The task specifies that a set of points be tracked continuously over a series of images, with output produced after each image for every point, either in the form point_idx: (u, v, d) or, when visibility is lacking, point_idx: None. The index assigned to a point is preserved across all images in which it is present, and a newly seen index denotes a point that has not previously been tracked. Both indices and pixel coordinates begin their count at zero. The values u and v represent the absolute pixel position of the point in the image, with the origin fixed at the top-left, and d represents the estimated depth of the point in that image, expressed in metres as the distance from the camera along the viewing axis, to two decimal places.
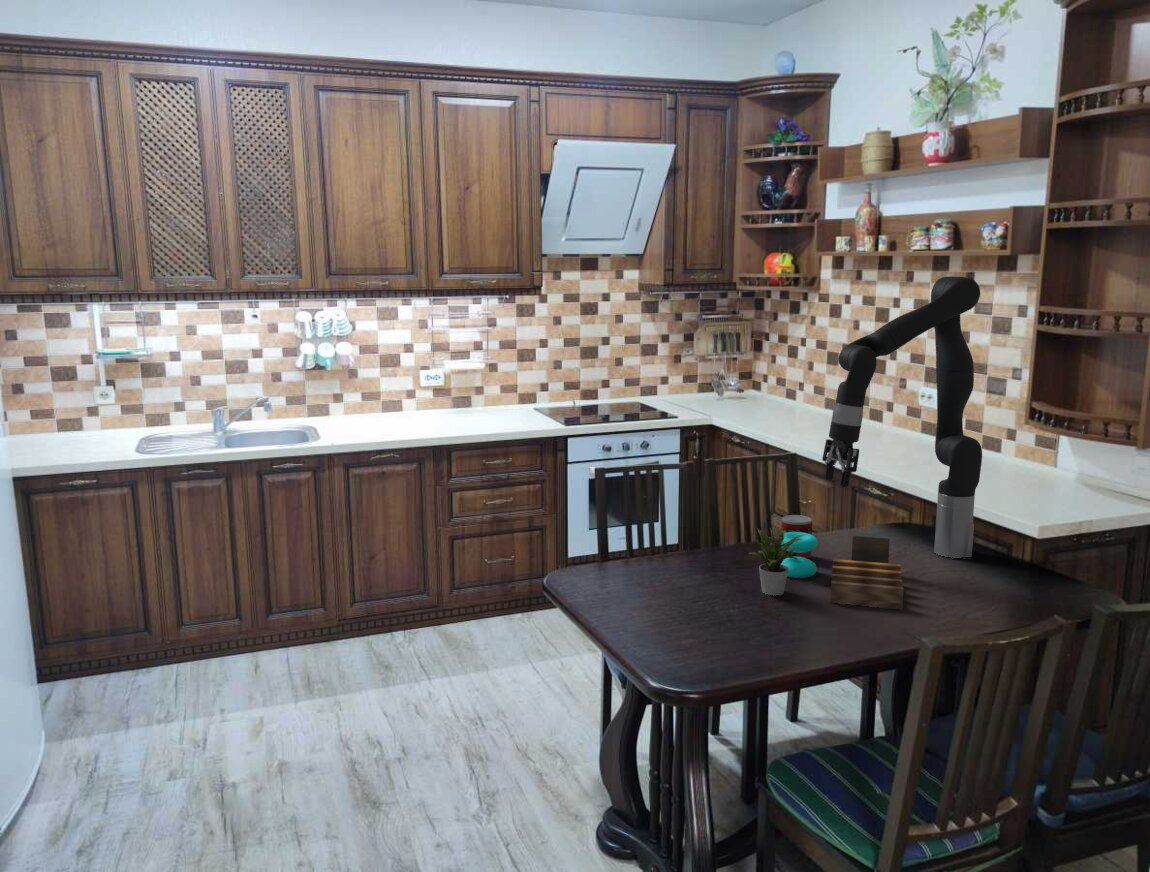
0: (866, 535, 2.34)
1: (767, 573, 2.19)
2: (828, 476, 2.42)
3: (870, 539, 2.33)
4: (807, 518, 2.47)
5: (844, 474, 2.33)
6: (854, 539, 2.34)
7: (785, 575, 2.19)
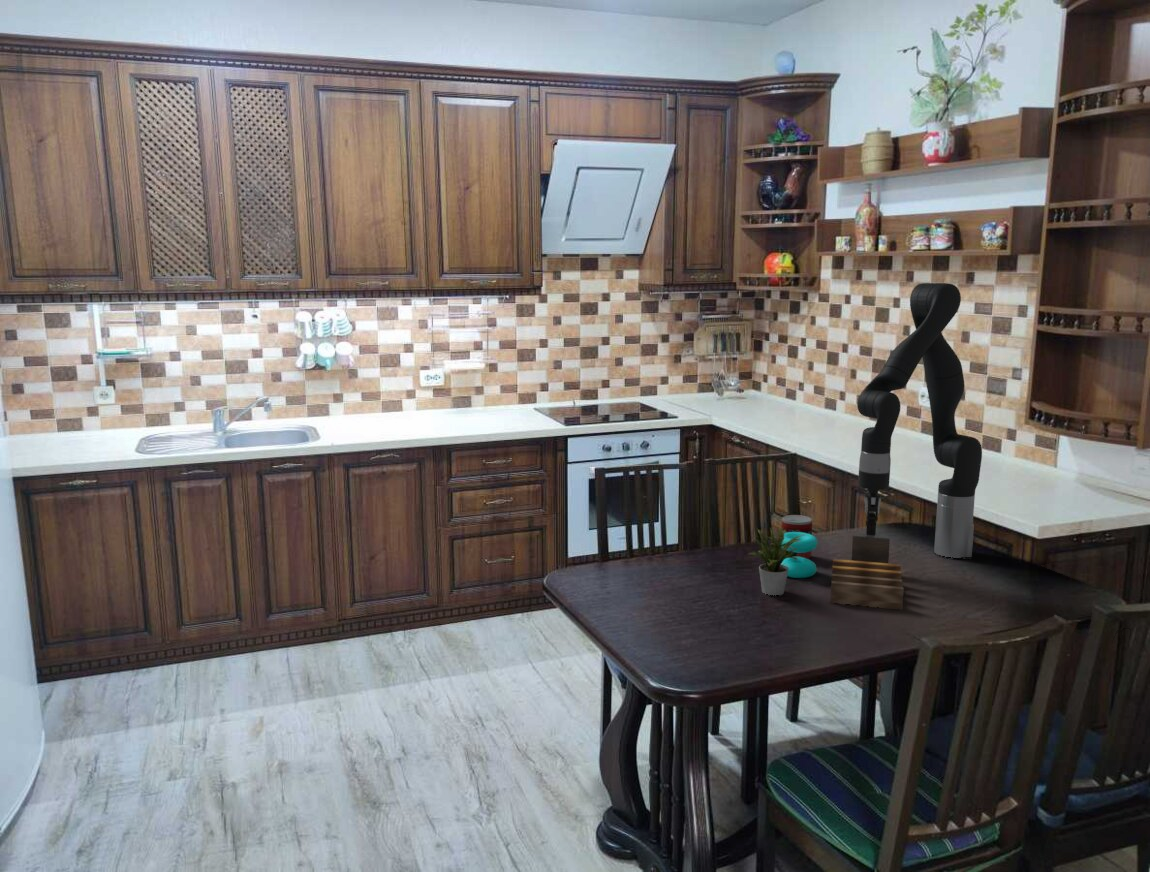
0: (866, 535, 2.34)
1: (767, 573, 2.19)
2: None
3: (870, 539, 2.33)
4: (807, 518, 2.47)
5: (868, 523, 2.28)
6: (854, 539, 2.34)
7: (785, 575, 2.19)
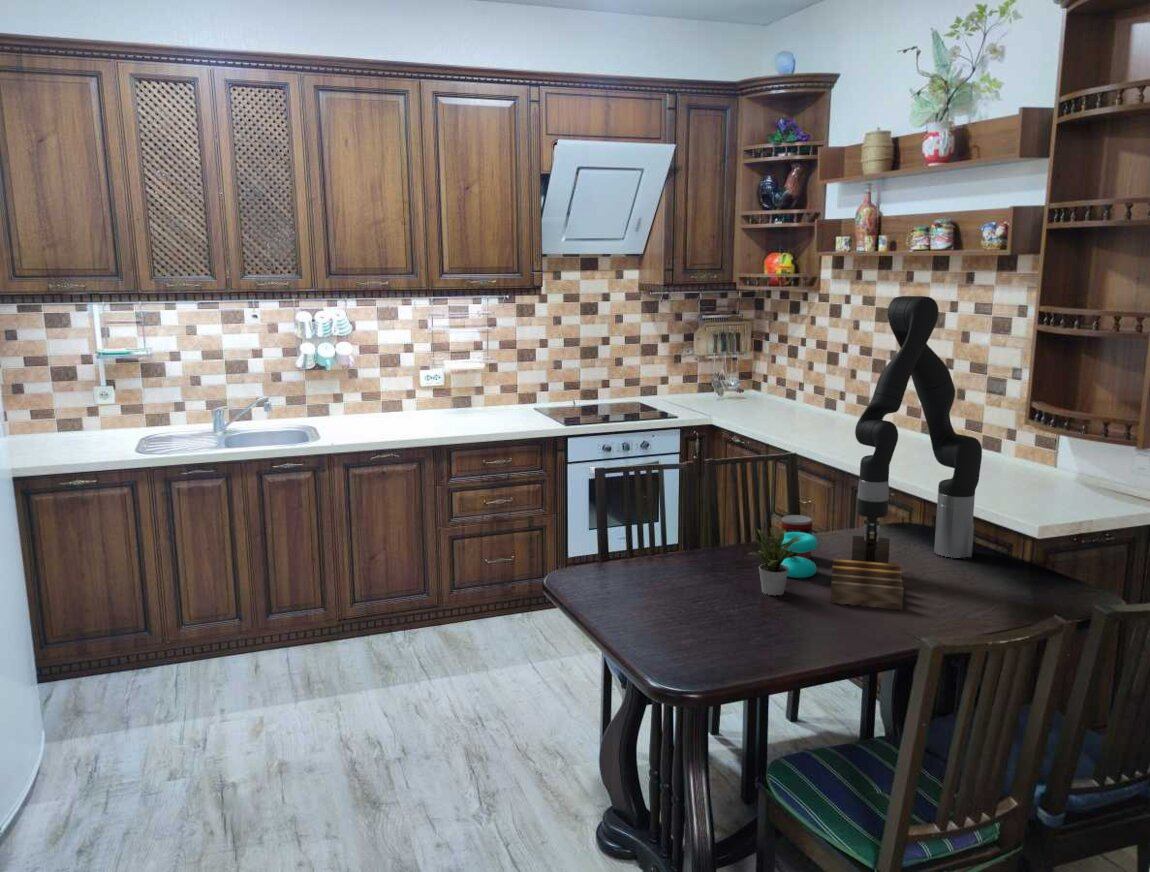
0: (866, 535, 2.34)
1: (767, 573, 2.19)
2: None
3: None
4: (807, 518, 2.47)
5: (867, 551, 2.32)
6: (854, 539, 2.34)
7: (785, 575, 2.19)
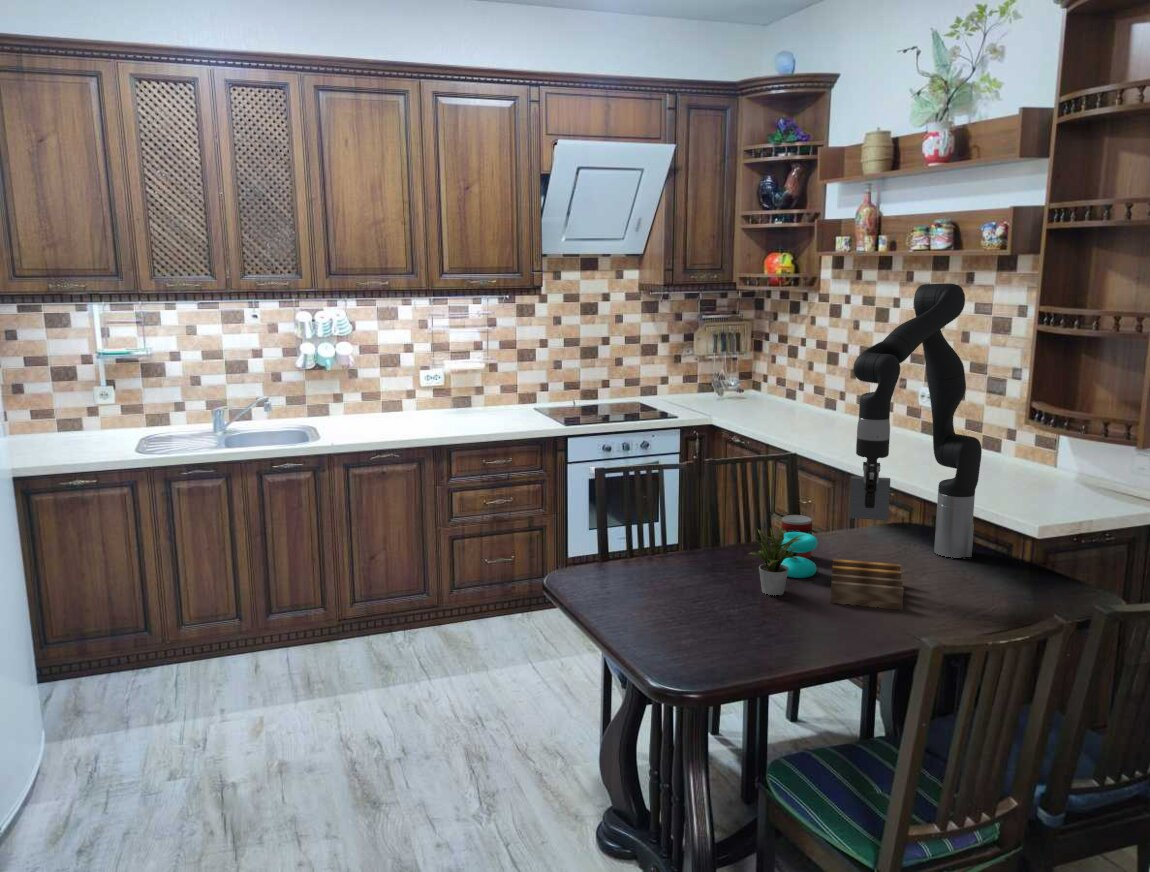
0: None
1: (767, 573, 2.19)
2: None
3: None
4: (807, 518, 2.47)
5: (867, 495, 2.19)
6: (853, 481, 2.21)
7: (785, 575, 2.19)
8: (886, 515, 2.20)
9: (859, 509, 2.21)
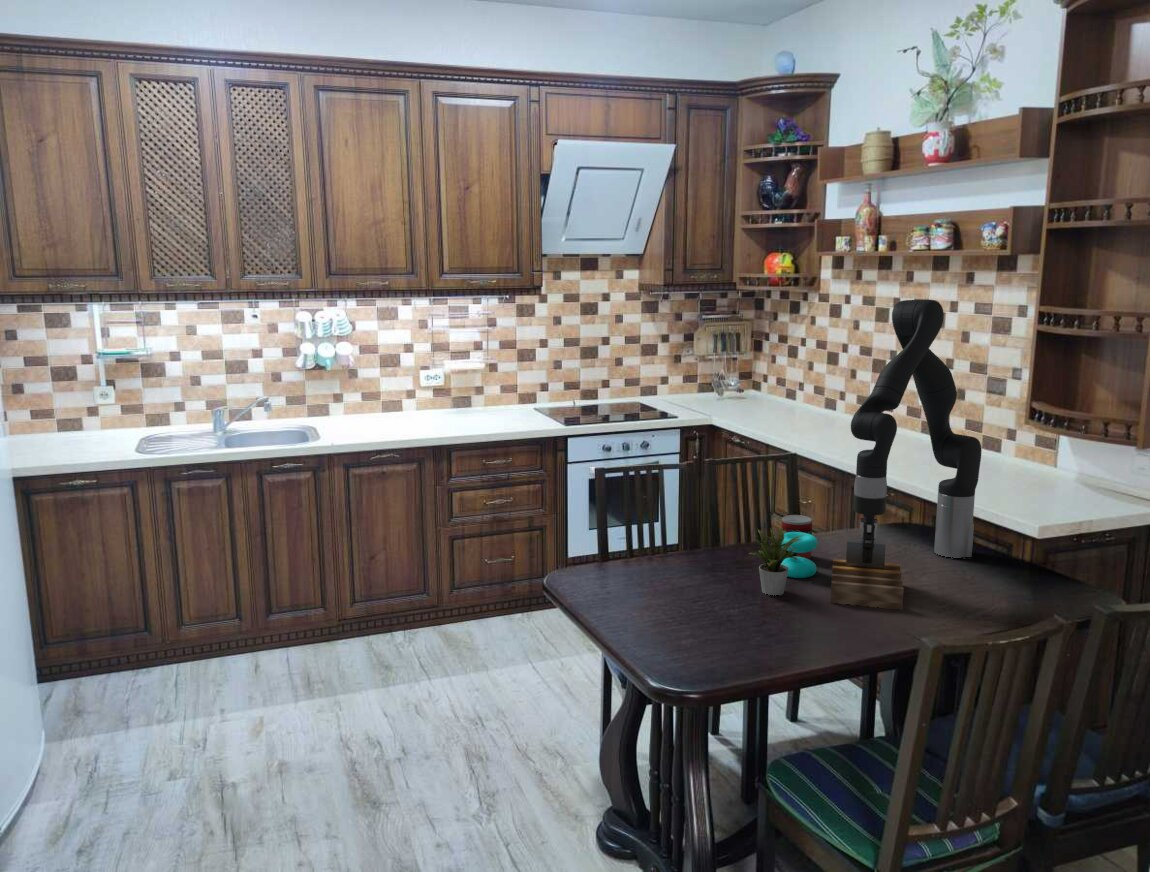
0: (861, 541, 2.24)
1: (767, 573, 2.19)
2: None
3: None
4: (807, 518, 2.47)
5: (864, 550, 2.20)
6: (848, 545, 2.24)
7: (785, 575, 2.19)
8: None
9: None
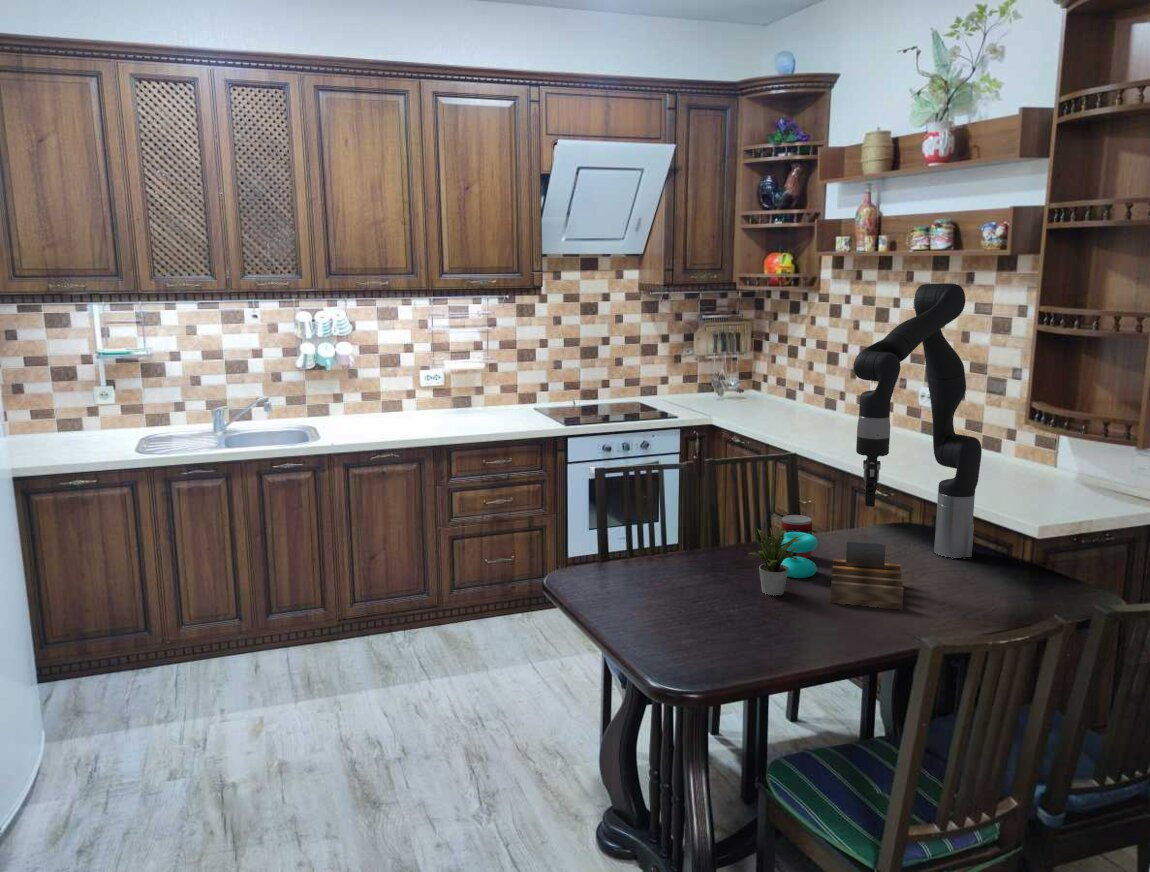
0: (861, 541, 2.24)
1: (767, 573, 2.19)
2: None
3: (865, 545, 2.23)
4: (807, 518, 2.47)
5: (867, 493, 2.19)
6: (848, 545, 2.24)
7: (785, 575, 2.19)
8: None
9: None
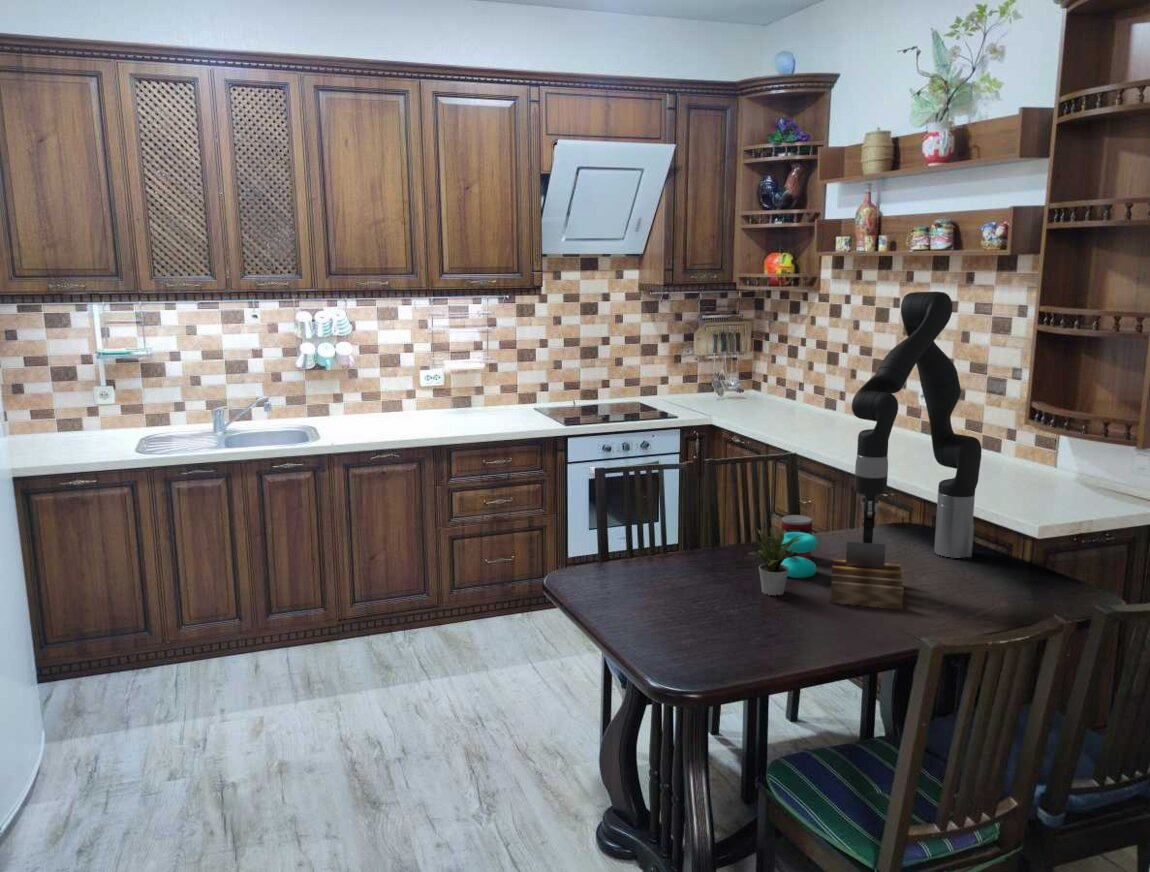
0: (861, 541, 2.24)
1: (767, 573, 2.19)
2: None
3: (865, 545, 2.23)
4: (807, 518, 2.47)
5: (865, 530, 2.22)
6: (848, 545, 2.24)
7: (785, 575, 2.19)
8: None
9: None
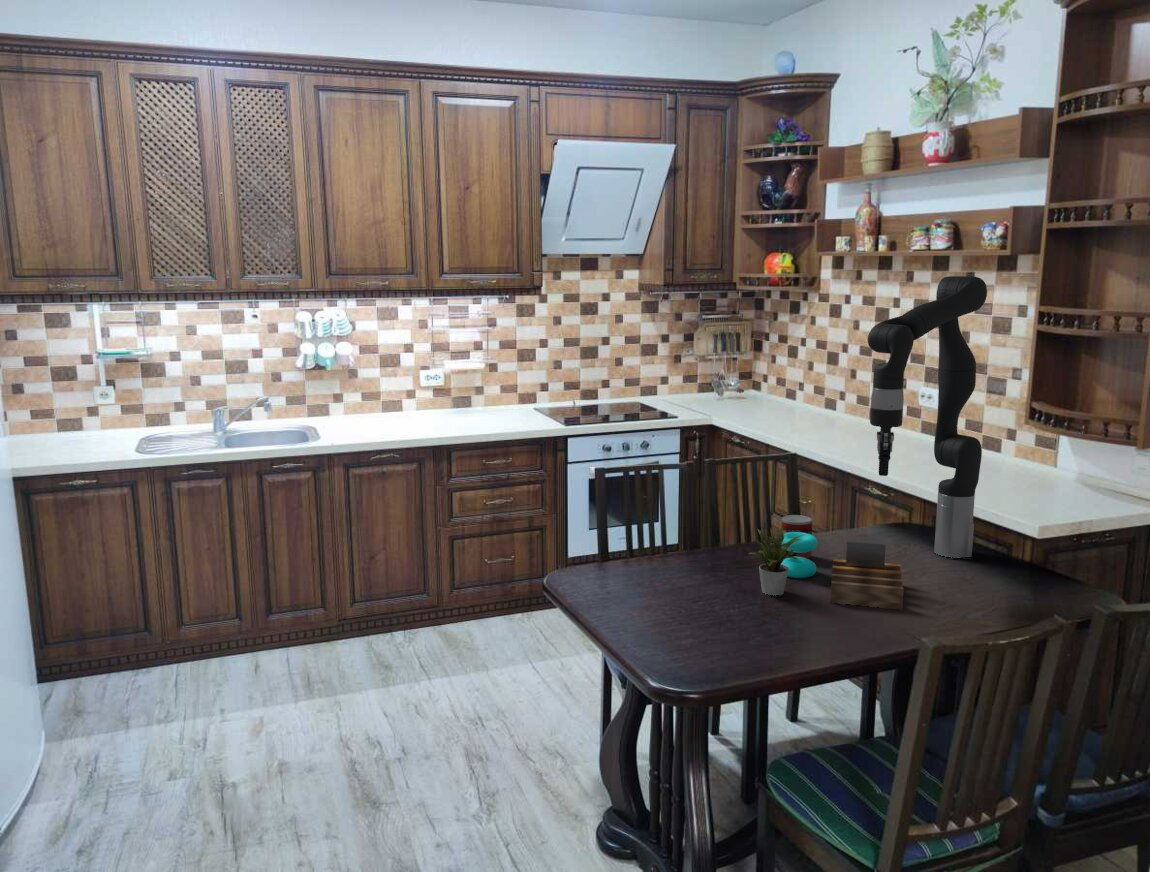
0: (861, 541, 2.24)
1: (767, 573, 2.19)
2: None
3: (865, 545, 2.23)
4: (807, 518, 2.47)
5: (880, 463, 2.25)
6: (848, 545, 2.24)
7: (785, 575, 2.19)
8: None
9: None
